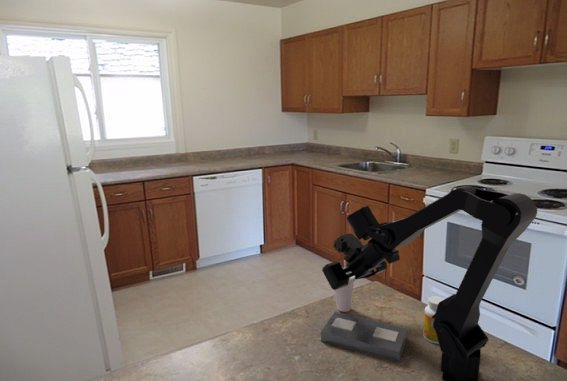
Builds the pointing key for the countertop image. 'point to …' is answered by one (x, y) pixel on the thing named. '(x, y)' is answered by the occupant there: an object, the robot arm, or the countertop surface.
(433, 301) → the supplement bottle
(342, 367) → the countertop surface
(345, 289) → the smoothie
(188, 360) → the countertop surface
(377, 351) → the label box
